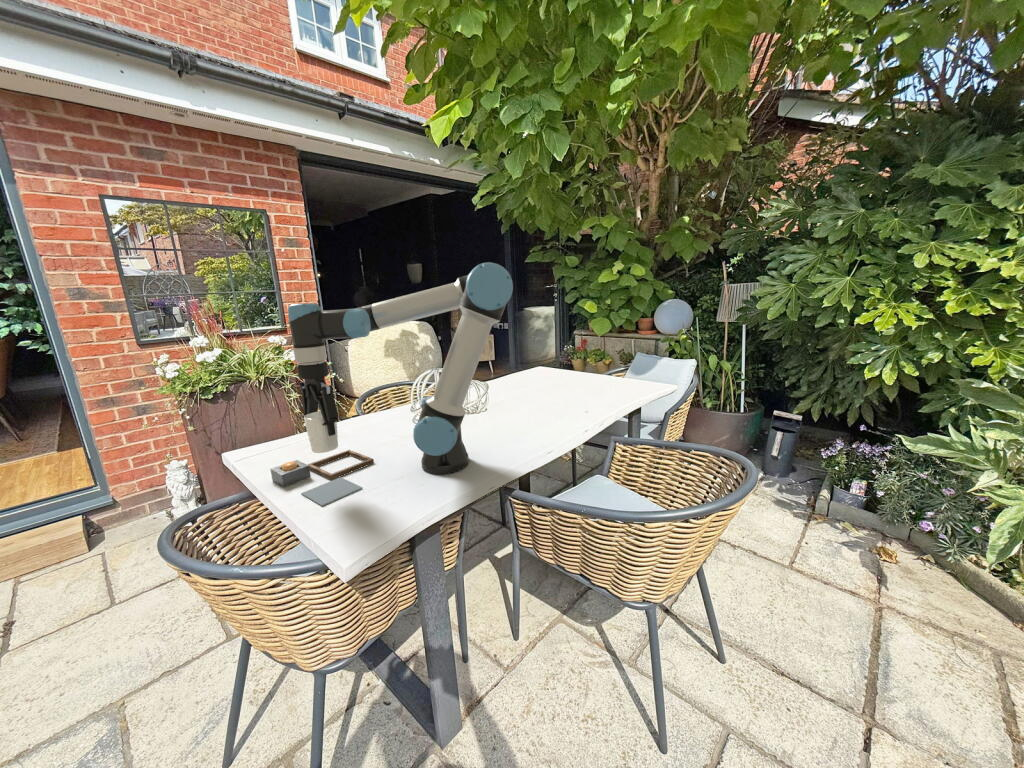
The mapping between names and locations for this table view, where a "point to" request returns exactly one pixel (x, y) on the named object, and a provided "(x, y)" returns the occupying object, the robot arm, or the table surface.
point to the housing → (290, 474)
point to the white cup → (317, 432)
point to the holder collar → (330, 476)
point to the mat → (331, 491)
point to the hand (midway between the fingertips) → (324, 442)
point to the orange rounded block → (289, 466)
